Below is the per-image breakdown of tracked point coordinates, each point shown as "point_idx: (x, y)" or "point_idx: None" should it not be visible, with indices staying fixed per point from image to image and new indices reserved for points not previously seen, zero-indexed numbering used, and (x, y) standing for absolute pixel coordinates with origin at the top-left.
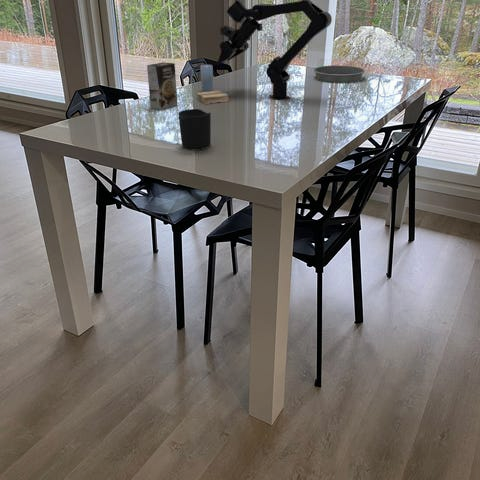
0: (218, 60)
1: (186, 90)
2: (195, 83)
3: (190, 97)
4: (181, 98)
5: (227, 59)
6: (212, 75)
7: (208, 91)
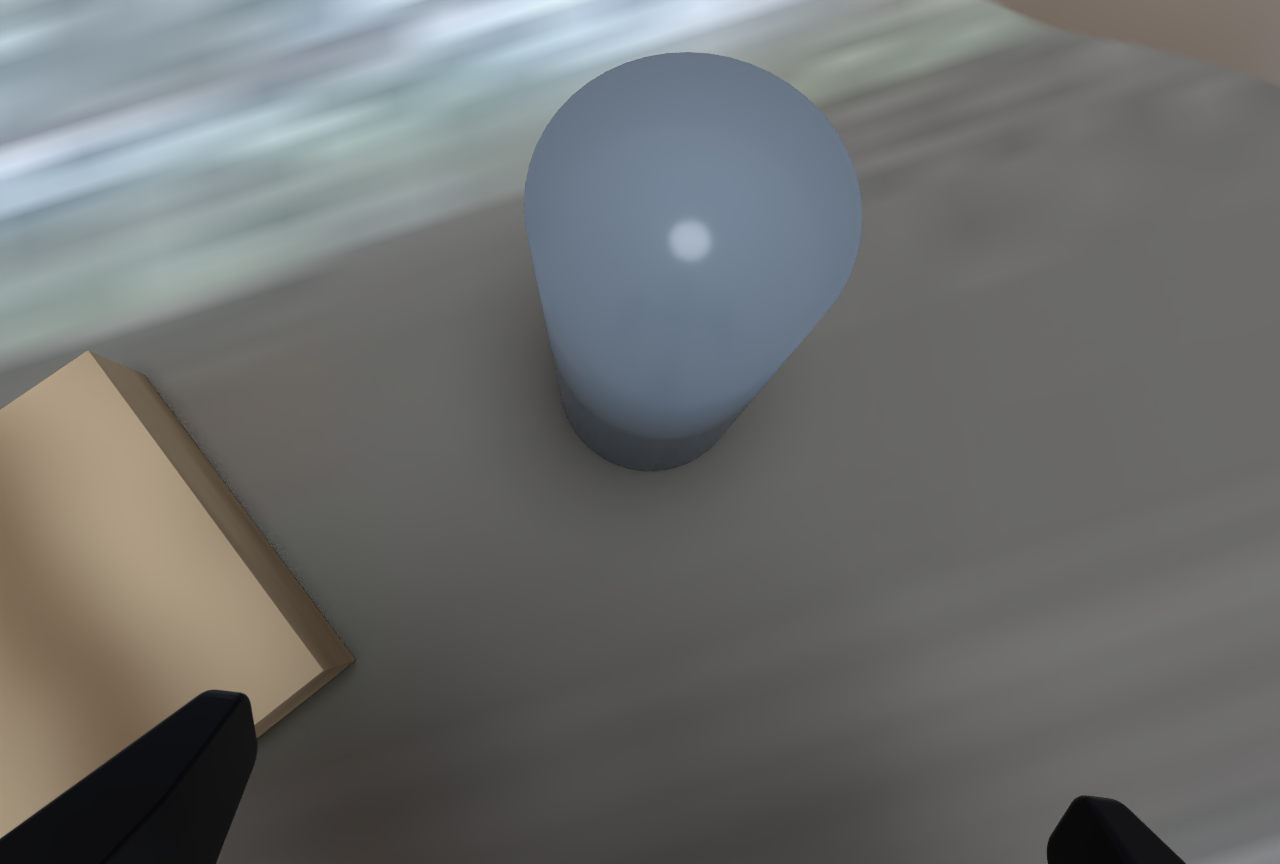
0: (123, 761)
1: None
2: (1141, 50)
3: (244, 255)
4: (165, 157)
5: (1064, 840)
6: (665, 421)
7: (568, 417)
